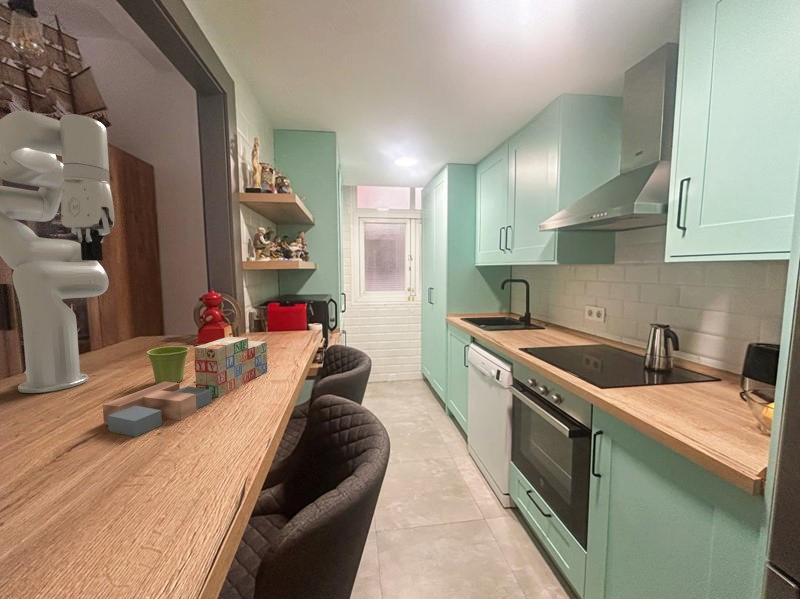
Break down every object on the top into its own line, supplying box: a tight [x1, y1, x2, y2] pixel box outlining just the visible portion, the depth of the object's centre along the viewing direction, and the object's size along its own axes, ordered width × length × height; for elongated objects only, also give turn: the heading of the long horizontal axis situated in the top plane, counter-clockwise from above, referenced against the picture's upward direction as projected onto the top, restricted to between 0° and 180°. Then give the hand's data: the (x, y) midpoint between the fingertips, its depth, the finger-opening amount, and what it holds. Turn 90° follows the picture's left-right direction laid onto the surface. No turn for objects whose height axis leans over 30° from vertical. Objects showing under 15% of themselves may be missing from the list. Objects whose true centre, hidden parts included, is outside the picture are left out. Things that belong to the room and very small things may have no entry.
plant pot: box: [146, 345, 190, 385], centre depth 91 cm, size 9×9×9 cm
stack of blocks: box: [194, 336, 268, 398], centre depth 92 cm, size 21×6×12 cm, turn 170°
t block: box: [102, 382, 197, 425], centre depth 72 cm, size 13×14×4 cm
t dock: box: [107, 385, 213, 438], centre depth 71 cm, size 7×17×3 cm, turn 163°
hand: (92, 260), depth 77 cm, fingers closed
